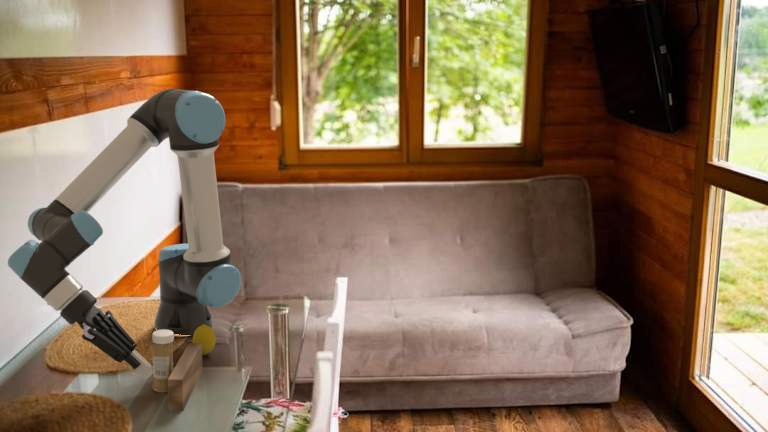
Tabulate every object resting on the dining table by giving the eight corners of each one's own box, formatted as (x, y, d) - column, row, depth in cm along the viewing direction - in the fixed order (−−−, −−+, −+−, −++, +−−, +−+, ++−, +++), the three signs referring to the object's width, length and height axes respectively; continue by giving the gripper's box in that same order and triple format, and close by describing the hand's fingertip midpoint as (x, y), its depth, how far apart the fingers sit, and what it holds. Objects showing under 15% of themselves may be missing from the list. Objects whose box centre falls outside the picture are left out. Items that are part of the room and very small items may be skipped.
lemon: (205, 348, 198) (204, 319, 196) (220, 354, 195) (220, 324, 193) (188, 355, 193) (187, 325, 191) (203, 361, 190) (202, 330, 188)
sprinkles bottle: (177, 386, 176) (177, 330, 173) (165, 395, 172) (166, 337, 169) (159, 383, 177) (160, 327, 174) (147, 390, 173) (147, 333, 170)
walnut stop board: (168, 410, 165) (167, 379, 163) (189, 371, 184) (189, 343, 183) (183, 410, 165) (182, 379, 163) (202, 371, 184) (201, 343, 183)
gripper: (71, 302, 176) (147, 373, 180) (47, 322, 163) (130, 398, 167) (93, 280, 175) (169, 352, 179) (72, 298, 162) (154, 376, 166)
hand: (150, 374), depth 173 cm, fingers closed
